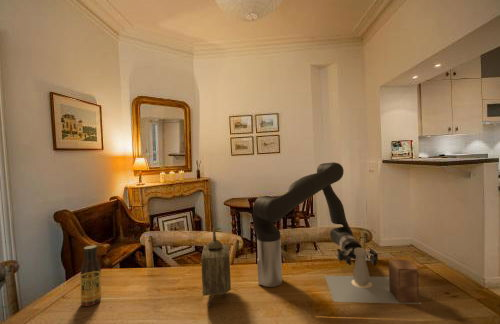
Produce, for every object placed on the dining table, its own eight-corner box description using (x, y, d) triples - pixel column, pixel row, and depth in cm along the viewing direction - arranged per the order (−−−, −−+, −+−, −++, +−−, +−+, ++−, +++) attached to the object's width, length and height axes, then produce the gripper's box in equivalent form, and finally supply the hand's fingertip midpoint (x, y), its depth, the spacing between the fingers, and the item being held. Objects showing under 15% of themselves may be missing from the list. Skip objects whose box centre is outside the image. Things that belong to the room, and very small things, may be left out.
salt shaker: (367, 279, 97) (365, 245, 97) (372, 287, 92) (371, 251, 91) (351, 279, 98) (349, 246, 98) (355, 287, 92) (354, 251, 92)
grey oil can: (207, 288, 97) (204, 223, 96) (230, 286, 98) (227, 221, 97) (203, 311, 83) (199, 234, 82) (231, 308, 83) (228, 232, 83)
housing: (399, 302, 82) (398, 268, 82) (389, 290, 89) (388, 259, 89) (418, 302, 81) (418, 268, 81) (407, 291, 88) (407, 259, 88)
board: (334, 302, 84) (334, 301, 84) (324, 276, 102) (324, 275, 102) (421, 305, 81) (421, 303, 81) (396, 277, 98) (396, 276, 98)
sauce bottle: (79, 309, 86) (76, 251, 86) (82, 300, 92) (78, 246, 91) (102, 303, 89) (98, 247, 89) (103, 295, 95) (99, 242, 94)
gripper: (332, 237, 109) (341, 252, 93) (367, 237, 108) (382, 252, 92) (333, 255, 110) (342, 272, 94) (368, 255, 108) (383, 273, 92)
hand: (362, 262), depth 93 cm, fingers open, 8 cm apart
